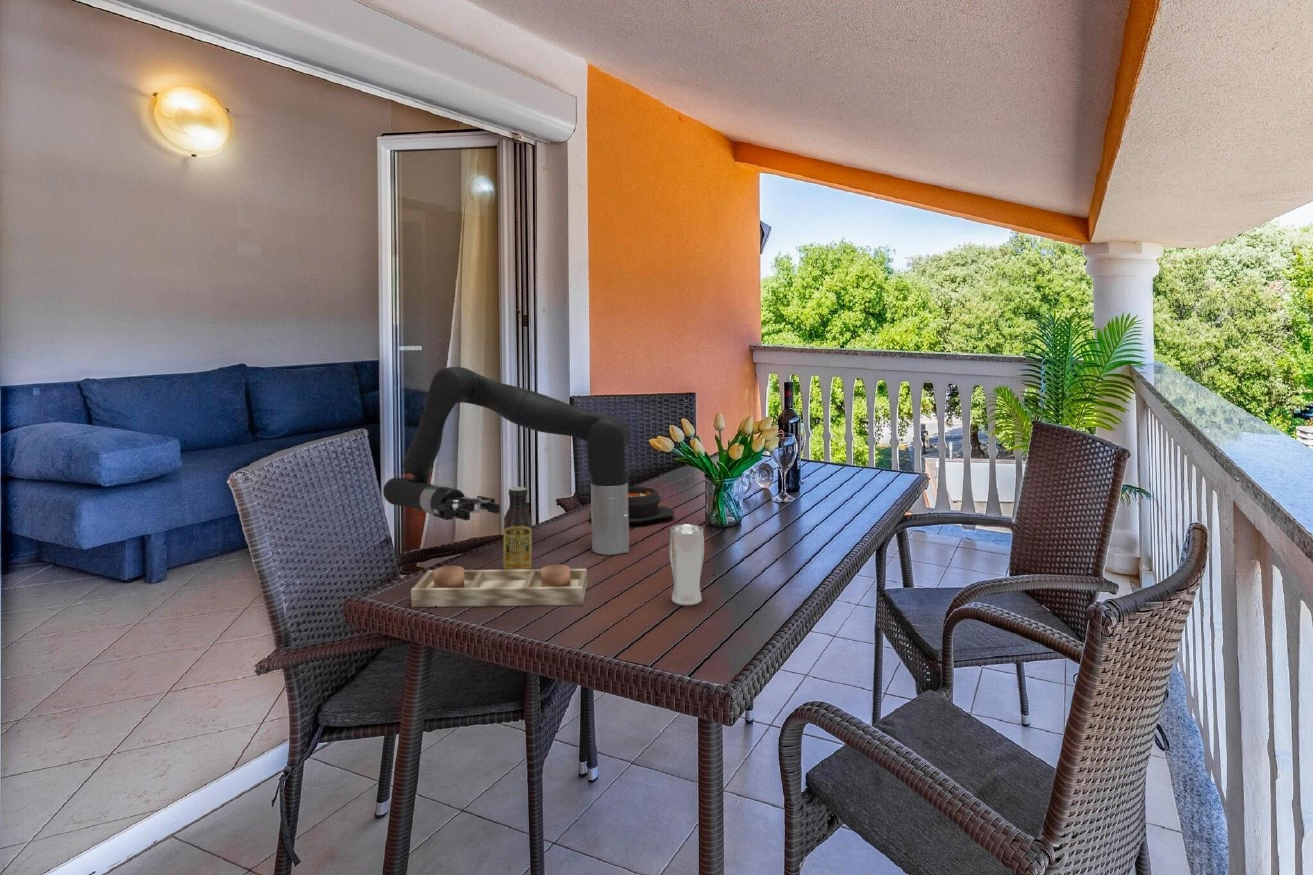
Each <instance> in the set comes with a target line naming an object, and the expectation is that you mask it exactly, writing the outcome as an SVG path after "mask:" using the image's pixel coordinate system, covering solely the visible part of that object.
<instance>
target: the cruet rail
mask: <svg viewBox="0 0 1313 875" xmlns="http://www.w3.org/2000/svg"><path fill="white" fill-rule="evenodd" d="M587 587H588V570H587V568H571V567H570V566H569V565H565V564H550V565H546V566H543V567H541V569H540V568H539V569H537V568H535V569H534V568H533V569H532V568H531V569H520V570H504V569H464V567H462V566H460V565H445V566H444V565H443V566H441V567H437V568H435V569H434V570H431V569H430V570H427V571H426V573H425V574H424V575H423V576H422V577H421V578H420V579H419V580H418V582H417V583H416V584H415V585H414V586H413V587H411V589H410V595H411V596H410V598H411V607H412V608H420V607H421V608H425V607H427V608H428V607H430V608H431V607H432V608H433V607H435V606H437V608H439V607H441V608H442V607H443V608H444V607H514V606H515V607H518V606H522V607H525V606H528V607H529V606H584V600H585V597H586V590H587ZM435 608H436V607H435Z"/></svg>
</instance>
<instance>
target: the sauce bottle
mask: <svg viewBox="0 0 1313 875" xmlns="http://www.w3.org/2000/svg"><path fill="white" fill-rule="evenodd" d="M508 496H509V505H508V510H507V511H506V513H505V515H504V517H503V520H504V522H503V523H504V524H503V548H502V549H503V551H502V552H503V561H502V562H503V565H502V566H503V570H520V569H532V552H533V551H532V546H533V544H532V541H533V539H532V538H533V537H532V536H533V535H532V534H533V530H532V515H531V513H530V511H529V510H528V508H527V506H528V505H527V496H528V488H527V487H524V486H513V487H510V488H508Z"/></svg>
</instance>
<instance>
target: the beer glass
mask: <svg viewBox="0 0 1313 875" xmlns="http://www.w3.org/2000/svg"><path fill="white" fill-rule="evenodd" d="M669 533H670V534H669V535H670V536H669V560H670V566H671V572H672V578H673V588H672V589H673V590H672V594H671V602H673V603H674V604H676V605H680V606H695V605H698V604H700V603H701V602H702V600H703V599H702V594H701V584H700V583H701V577H702V576H701V574H702V570H703V564H704V558H705V538H704V528H703V527H702V526H700V525H696V524H677V525H674V526H672V527H670V532H669Z"/></svg>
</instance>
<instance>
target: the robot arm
mask: <svg viewBox="0 0 1313 875" xmlns="http://www.w3.org/2000/svg"><path fill="white" fill-rule="evenodd" d="M460 403H465V404H470V405H475V406H479V407H481V408H486V409H489V410H490V411H493V412H495V413H496V414H497V415H499V416H501V417H502V418H504V419H505V420H507V421H508V422H510V423H513V424H514V425H516V426H521V427H523V428H526V429H529V430H531V431H532V430H533V431H536V432H539V433H545V434H551V435H558V436H559V435H561V436H568V437H572V438H576V439H580V440H582V441H585V442H587V444H586V446H587V448H586V449H587V466H588V468H587V469H588V472H589V476H590V506H591V508H590V509H591V510H590V512H591V517H590V518H591V551H592V552H593V553H595V554H598V555H603V556H604V555H606V556H607V555H608V556H609V555H610V556H612V555H619V554H625V553H626V554H628V553H629V552H630V551H629V550H630V529H629V527H630V524H629V510H628V487H629V473H628V470H627V468H626V454H625V449H626V448H627V446H628V445H629V444H630V441H631V437H632V434H631V433H632V432H631V430H630V429H631V428H630V427H629V426H628V424H627V423H626V422H625V421H624V419H623V420H622V419H621V418H619V417H617V416H611V415H607V414H601V413H597V412H593V411H588V410H585V409H582V408H578V407H576V406H574V405H571V404H569V403H565V401H561V400H560V399H559V400H558V399H555V398H553V397H550V396H548V395H546V394H542V393H539V392H536V391H534V390H529V389H527V388H524V387H523V388H522V387H520V386H517V385H516V386H515V385H512V384H508V383H507V384H506V383H502V382H498V381H495V380H493V379H490V378H488V377H486V376H484V375H481V374H479V373H477V372H475V371H473V370H470V369H468V368H467V367H462V366H451V367H450V366H448V367H443V368H441V369H439V370H437V372H436V373H435V374H434V376H433V377H432V379H431V382H430V386H429V390H428V394H427V398H426V403H425V405H424V408H423V412H422V416H421V419H420V421H419V424H418V427H417V429H416V432H415V435H414V437H413V439H412V442H411V444H410V446H409V448H408V451H407V453H406V454H405V457H404V459H403V462H402V467H403V468H404V471H406V472H407V473H409V474H411V475H413V476H412V478H405V477H396V476H395V477H392V478H390V479H389V480H388V481H386V483H385V484H384V485H383V491H382V492H383V496H384V499H385V500H386V501H387V502H388V503H389V504H391V505H394V506H400V507H405V508H406V507H407V508H413V509H416V510H418V511H421V512H425V513H428V514H430V515H432V516H433V517H436V518H439V519H442V520H445V521H450V520H452V521H453V520H456V519H460V520H463V521H470V520H471V514H481V512H489V513H492V514H500V510H501V508H500V507H501V506H500V504H499V503H497V502H496V499H495V498H494V497H493V498H492V497H486V496H484V495H483V496H482V495H477V496H476V497H469V496H465V494H464V492H462V491H461V490H459V489H456V488H454V487H449V486H446V485H445V486H444V485H440V484H431V483H429V480H430V475H431V474H430V473H431V470H432V467H433V465H434V463H435V462H436V461H435V460H436V459H437V457H438V455H439V452H440V449H441V446H442V445H441V444H442V441H443V432H444V426H445V424H446V421H447V418H449V417H448V416H449V415H450V413H451V411H452V410H453V408H454V407H455V406H456V404H460ZM476 506H477V507H476ZM475 507H476V508H475Z"/></svg>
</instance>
